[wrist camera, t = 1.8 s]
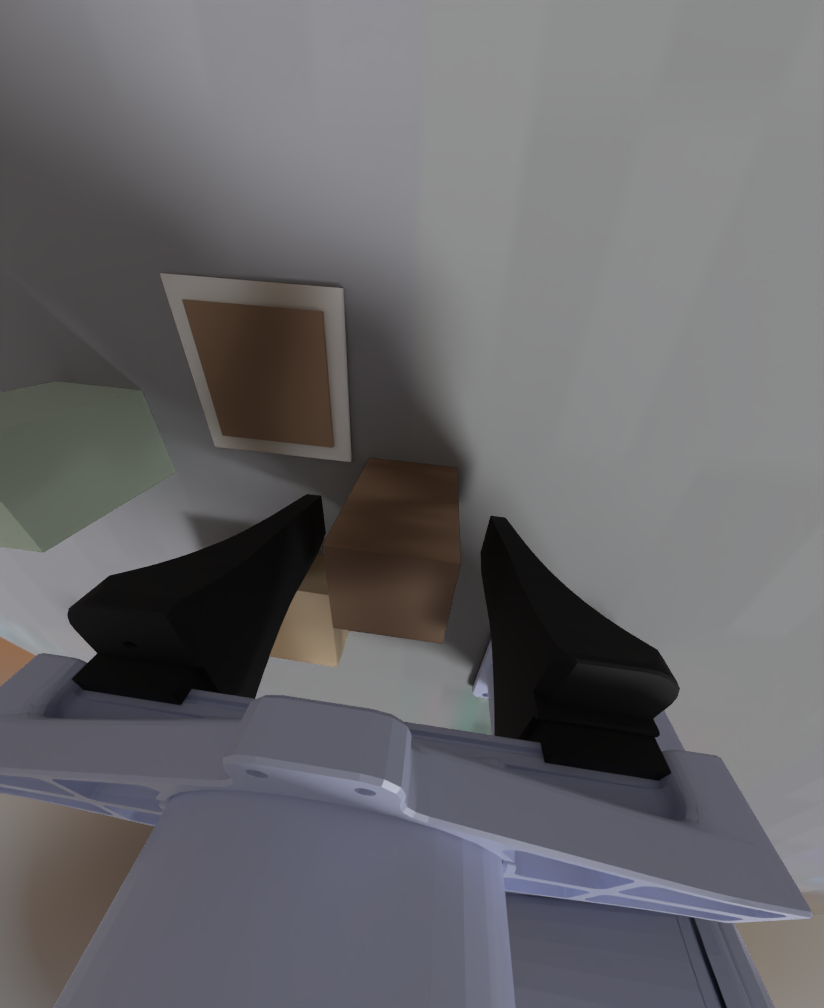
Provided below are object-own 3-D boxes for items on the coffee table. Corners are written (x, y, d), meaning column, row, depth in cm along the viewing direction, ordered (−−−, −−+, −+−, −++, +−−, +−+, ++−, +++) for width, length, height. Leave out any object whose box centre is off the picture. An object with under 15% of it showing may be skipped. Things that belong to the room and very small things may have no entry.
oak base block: (347, 554, 18) (330, 595, 15) (350, 625, 22) (337, 667, 19) (232, 537, 18) (196, 575, 15) (256, 610, 22) (231, 650, 19)
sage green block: (142, 390, 13) (-49, 442, 8) (176, 471, 15) (43, 552, 10) (56, 381, 13) (-181, 427, 8) (102, 463, 15) (-63, 537, 11)
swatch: (343, 288, 10) (339, 287, 10) (351, 460, 14) (349, 464, 13) (164, 273, 10) (154, 272, 10) (217, 445, 14) (212, 448, 14)
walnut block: (457, 467, 13) (461, 563, 8) (445, 536, 16) (442, 643, 11) (369, 457, 14) (321, 545, 9) (370, 526, 16) (333, 628, 11)
